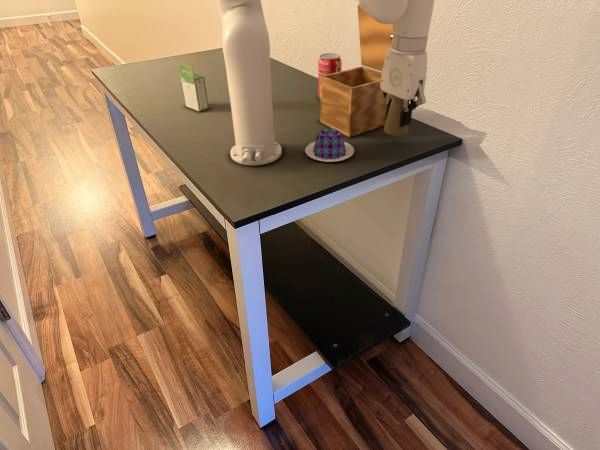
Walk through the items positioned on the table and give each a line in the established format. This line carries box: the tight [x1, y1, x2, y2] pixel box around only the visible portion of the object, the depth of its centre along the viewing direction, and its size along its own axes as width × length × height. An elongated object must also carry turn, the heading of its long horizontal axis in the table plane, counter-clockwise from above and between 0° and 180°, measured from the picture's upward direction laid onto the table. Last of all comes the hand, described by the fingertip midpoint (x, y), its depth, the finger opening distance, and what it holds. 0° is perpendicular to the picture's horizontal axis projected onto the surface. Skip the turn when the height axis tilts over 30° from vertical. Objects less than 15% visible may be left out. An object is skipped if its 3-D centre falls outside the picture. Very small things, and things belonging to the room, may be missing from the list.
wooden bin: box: [319, 65, 387, 138], centre depth 113 cm, size 15×13×13 cm
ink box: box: [177, 62, 210, 112], centre depth 125 cm, size 7×4×13 cm, turn 47°
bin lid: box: [357, 4, 394, 73], centre depth 108 cm, size 15×13×6 cm
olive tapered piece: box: [383, 95, 410, 137], centre depth 100 cm, size 6×6×11 cm
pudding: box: [304, 128, 355, 163], centre depth 101 cm, size 12×12×5 cm
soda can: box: [317, 52, 343, 100], centre depth 129 cm, size 7×7×13 cm
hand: (397, 121), depth 102 cm, fingers closed on olive tapered piece, 4 cm apart
